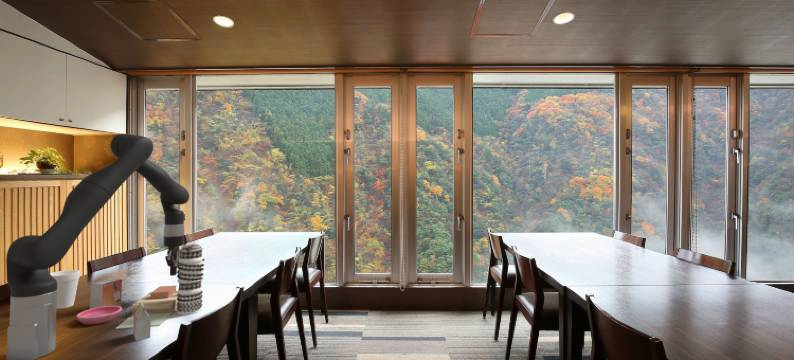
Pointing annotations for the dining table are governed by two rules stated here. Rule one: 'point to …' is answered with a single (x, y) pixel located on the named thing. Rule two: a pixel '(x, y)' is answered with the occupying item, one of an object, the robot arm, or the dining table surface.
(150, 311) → the panel
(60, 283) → the foam cup
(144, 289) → the dining table surface
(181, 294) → the decorative candle
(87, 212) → the robot arm
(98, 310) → the saucer
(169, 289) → the salmon pink brick
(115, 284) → the small box
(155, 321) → the mat
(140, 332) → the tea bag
